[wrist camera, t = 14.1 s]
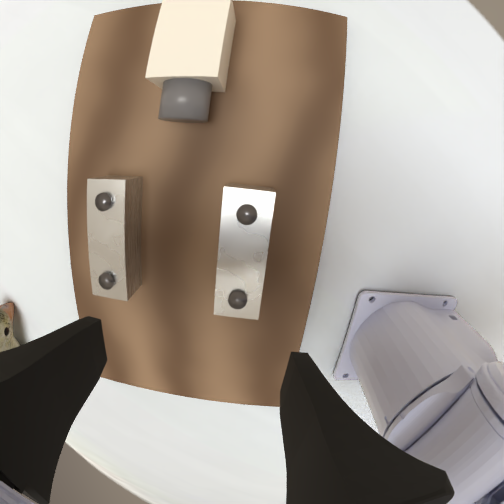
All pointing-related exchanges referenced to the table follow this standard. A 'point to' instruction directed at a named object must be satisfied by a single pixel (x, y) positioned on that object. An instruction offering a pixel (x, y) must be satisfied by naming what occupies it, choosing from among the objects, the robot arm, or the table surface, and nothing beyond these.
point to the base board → (209, 195)
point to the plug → (191, 56)
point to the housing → (229, 250)
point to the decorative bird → (7, 327)
